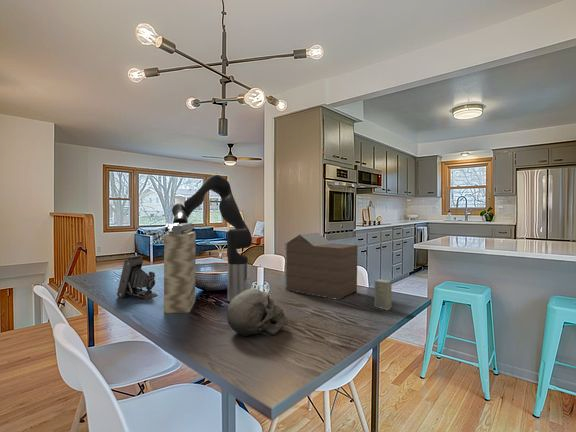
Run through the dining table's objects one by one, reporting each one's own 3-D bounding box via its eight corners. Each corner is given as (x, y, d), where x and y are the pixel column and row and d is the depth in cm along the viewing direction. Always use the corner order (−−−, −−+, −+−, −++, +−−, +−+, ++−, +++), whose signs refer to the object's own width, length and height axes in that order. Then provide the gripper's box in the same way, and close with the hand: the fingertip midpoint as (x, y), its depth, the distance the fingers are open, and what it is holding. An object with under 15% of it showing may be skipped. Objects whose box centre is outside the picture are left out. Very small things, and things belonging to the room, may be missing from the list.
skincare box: (391, 308, 138) (392, 280, 138) (387, 311, 135) (387, 282, 135) (378, 305, 142) (378, 278, 142) (373, 307, 139) (374, 280, 139)
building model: (302, 283, 185) (302, 231, 185) (356, 292, 166) (357, 234, 165) (282, 289, 170) (283, 233, 170) (340, 300, 150) (341, 237, 150)
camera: (144, 308, 146) (155, 266, 145) (113, 296, 149) (124, 255, 148) (158, 301, 157) (168, 263, 156) (129, 291, 160) (139, 253, 159)
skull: (297, 322, 106) (255, 283, 102) (263, 361, 103) (219, 322, 99) (286, 310, 119) (248, 275, 115) (256, 344, 116) (216, 310, 112)
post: (195, 301, 146) (195, 229, 145) (189, 312, 130) (190, 231, 129) (172, 301, 144) (172, 229, 144) (163, 313, 128) (164, 231, 128)
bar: (191, 230, 155) (191, 223, 154) (181, 234, 129) (181, 225, 129) (184, 230, 154) (184, 223, 154) (172, 234, 128) (172, 225, 128)
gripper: (167, 214, 171) (164, 225, 156) (194, 216, 175) (194, 227, 161) (166, 227, 173) (164, 239, 158) (193, 228, 177) (193, 240, 163)
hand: (179, 233), depth 160 cm, fingers open, 8 cm apart
